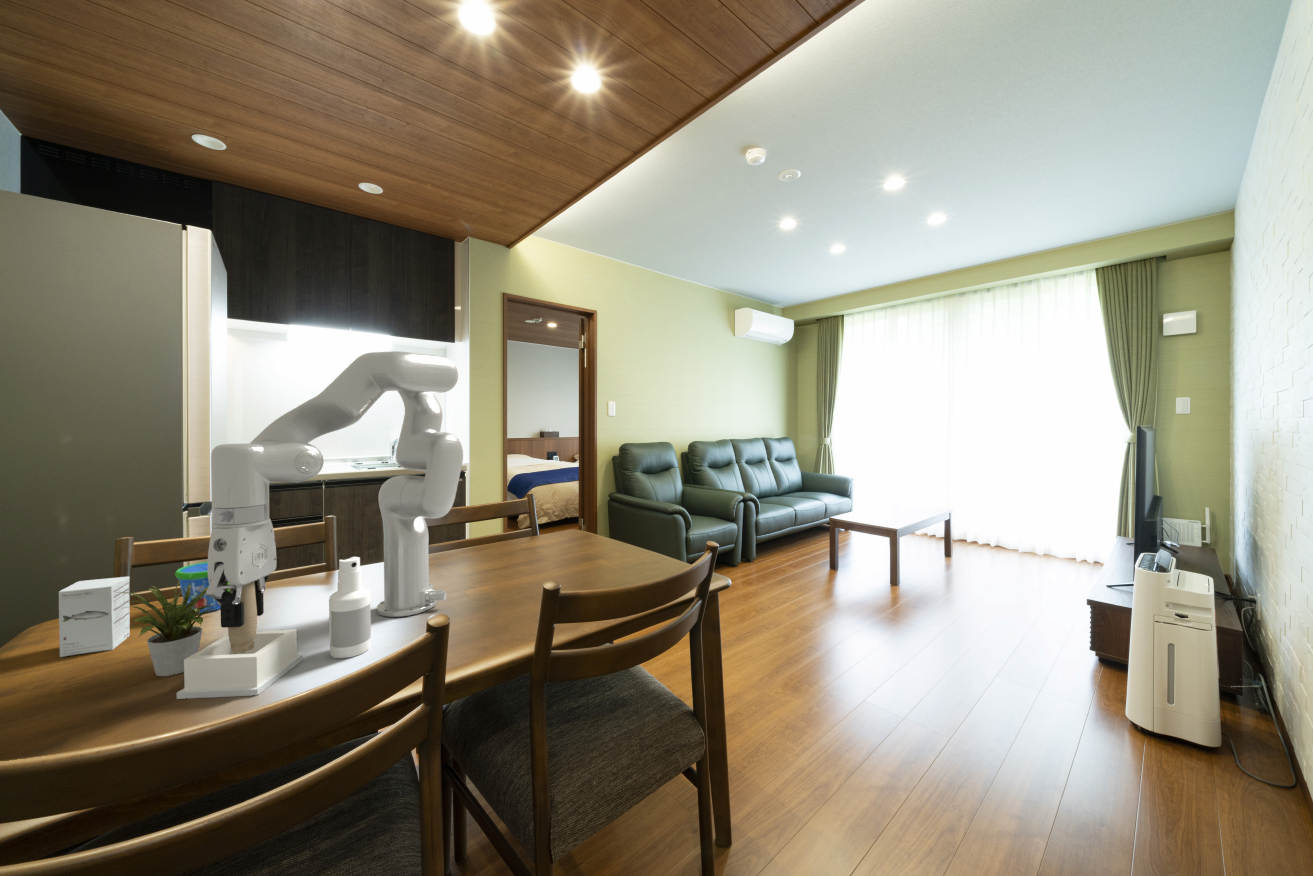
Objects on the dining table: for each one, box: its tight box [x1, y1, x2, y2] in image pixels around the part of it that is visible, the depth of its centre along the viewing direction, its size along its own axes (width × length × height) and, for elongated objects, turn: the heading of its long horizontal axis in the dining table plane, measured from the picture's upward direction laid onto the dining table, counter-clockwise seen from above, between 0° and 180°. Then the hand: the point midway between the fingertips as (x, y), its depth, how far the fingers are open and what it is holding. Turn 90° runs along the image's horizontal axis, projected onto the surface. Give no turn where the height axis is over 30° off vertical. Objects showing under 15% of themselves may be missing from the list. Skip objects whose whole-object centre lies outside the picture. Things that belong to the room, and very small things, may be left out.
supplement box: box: [58, 576, 131, 658], centre depth 96 cm, size 7×7×13 cm
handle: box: [227, 582, 258, 653], centre depth 85 cm, size 5×6×15 cm
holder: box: [176, 629, 304, 700], centre depth 85 cm, size 12×12×6 cm
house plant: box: [118, 578, 217, 677], centre depth 87 cm, size 14×14×16 cm
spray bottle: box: [328, 556, 372, 659], centre depth 95 cm, size 7×7×18 cm
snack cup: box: [174, 561, 229, 615], centre depth 115 cm, size 16×10×10 cm
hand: (242, 619), depth 85 cm, fingers closed on handle, 4 cm apart
